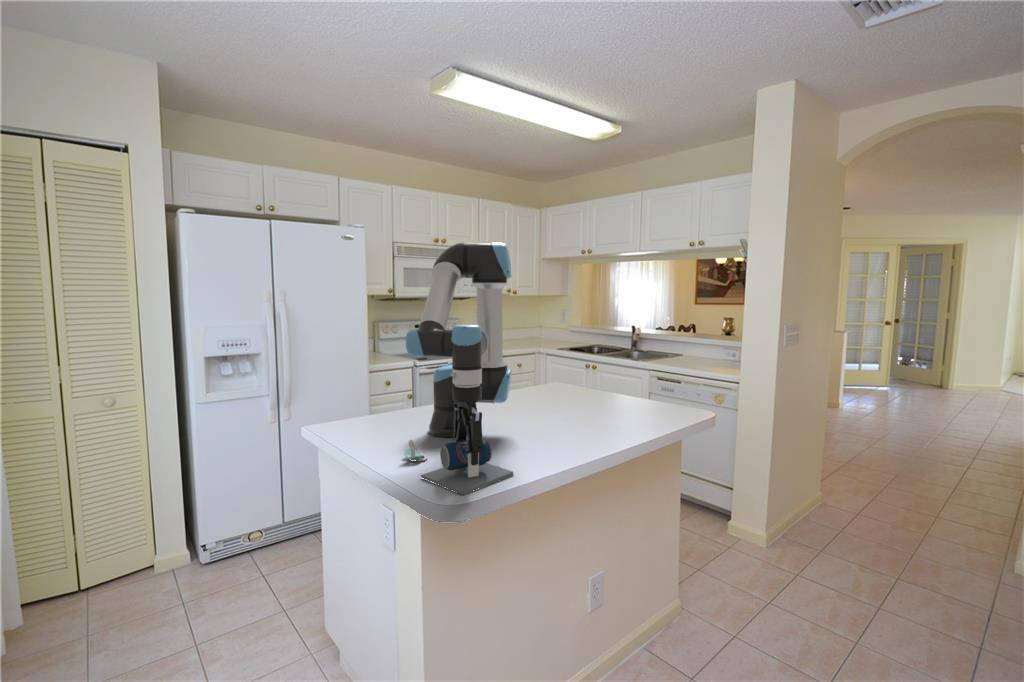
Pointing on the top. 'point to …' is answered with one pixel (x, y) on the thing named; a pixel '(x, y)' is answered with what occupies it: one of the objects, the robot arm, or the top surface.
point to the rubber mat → (462, 482)
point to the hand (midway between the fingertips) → (467, 471)
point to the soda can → (462, 455)
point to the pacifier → (414, 452)
